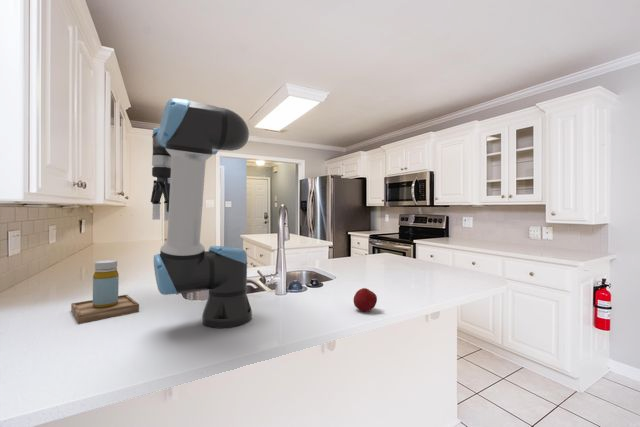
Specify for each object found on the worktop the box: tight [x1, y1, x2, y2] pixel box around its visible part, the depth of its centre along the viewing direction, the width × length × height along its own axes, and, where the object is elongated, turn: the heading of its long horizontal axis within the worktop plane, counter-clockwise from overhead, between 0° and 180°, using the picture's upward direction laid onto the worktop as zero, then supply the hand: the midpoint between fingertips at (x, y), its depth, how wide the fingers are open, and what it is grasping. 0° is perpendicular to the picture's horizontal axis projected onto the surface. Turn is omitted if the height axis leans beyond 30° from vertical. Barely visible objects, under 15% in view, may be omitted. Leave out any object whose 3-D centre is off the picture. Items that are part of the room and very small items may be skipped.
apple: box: [353, 287, 378, 313], centre depth 104 cm, size 8×8×8 cm
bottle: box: [92, 259, 120, 308], centre depth 99 cm, size 7×7×15 cm
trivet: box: [71, 294, 140, 325], centre depth 99 cm, size 16×16×3 cm
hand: (162, 220), depth 118 cm, fingers open, 13 cm apart
